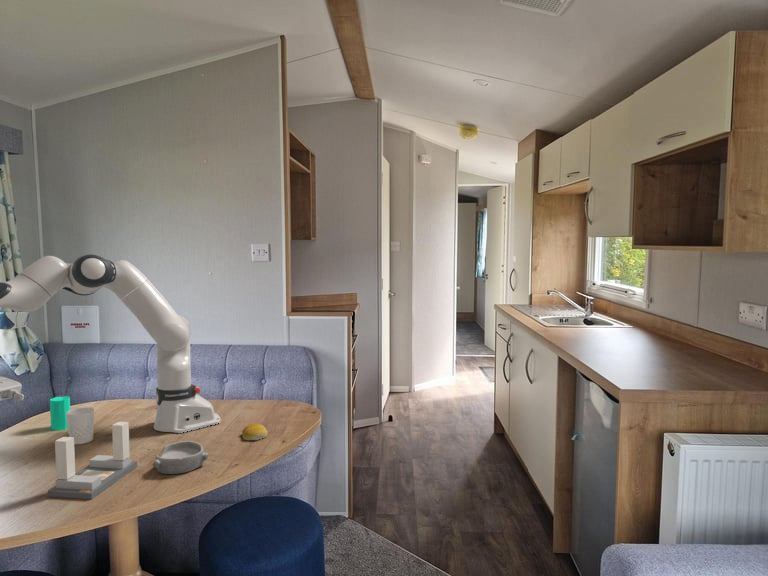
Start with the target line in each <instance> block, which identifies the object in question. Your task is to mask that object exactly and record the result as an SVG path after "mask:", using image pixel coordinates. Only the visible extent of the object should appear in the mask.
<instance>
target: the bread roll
mask: <svg viewBox="0 0 768 576" xmlns="http://www.w3.org/2000/svg"><path fill="white" fill-rule="evenodd" d="M268 434H269V433H268V430H267V429H266V427H265V426H264V425H263V424H261V423H250V424H248V425H247V426H244V428H243V429H242V432H241V435H242V438H243V440H245V441H249V440H257V441H260V440H259V439H261V440H263V439H265V438H267V436H268ZM262 438H263V439H262Z"/></svg>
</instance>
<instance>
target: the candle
mask: <svg viewBox="0 0 768 576" xmlns="http://www.w3.org/2000/svg"><path fill="white" fill-rule="evenodd" d="M69 410H71V397H70V395H64V396H55V397H53V398H50V399H49V411H50V412H49V413H50V416H49V417H50V429H52V430H51V431H55V430H56V431H63V430H68V428H67V417H66V412H67V411H69Z"/></svg>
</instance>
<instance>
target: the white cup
mask: <svg viewBox="0 0 768 576" xmlns="http://www.w3.org/2000/svg"><path fill="white" fill-rule="evenodd" d="M66 417H67V433H68V437H74V445H84V444H87V443H90V442H91V441H93V440H94V431H95V428H94V427H95V408H93V407H89V406H88V407H87V406H86V407H85V406H84V407H78V408H77V407H76V408H73V409H70V410H69V411H67V412H66Z"/></svg>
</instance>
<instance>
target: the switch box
mask: <svg viewBox="0 0 768 576" xmlns="http://www.w3.org/2000/svg"><path fill="white" fill-rule="evenodd" d="M88 462H89V464H88V465H86V466H85V467H83V468H82V469H80V470H78V471H77V472H75V475H74V476H72V477H70V478H69V479H57V478H56V480H55V485H54V486H53V487H51V488H49V489H48V490H47V497H48V498H49V497H52V498H64V499H65V498H67V499H81V500H82V499H83V500H93V499H94V498H96V497H97V496H99V495H100V494H101V493H103V492H104V491H106V490H107V489H108V488H110V487H111V486H112V485H113V484H115V483H116V482H118V481H119V480H120V479H122V478H124V477H126V475H127V474H129V473H130V472H132V471H133V470H135V468H137V467H138V461H136V460H131V456H129V457H128V458H126V459H125V460H113V455H108V454H107V455H105V454H97V455H95V456H94V457H92V458H90V459H89V461H88Z"/></svg>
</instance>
